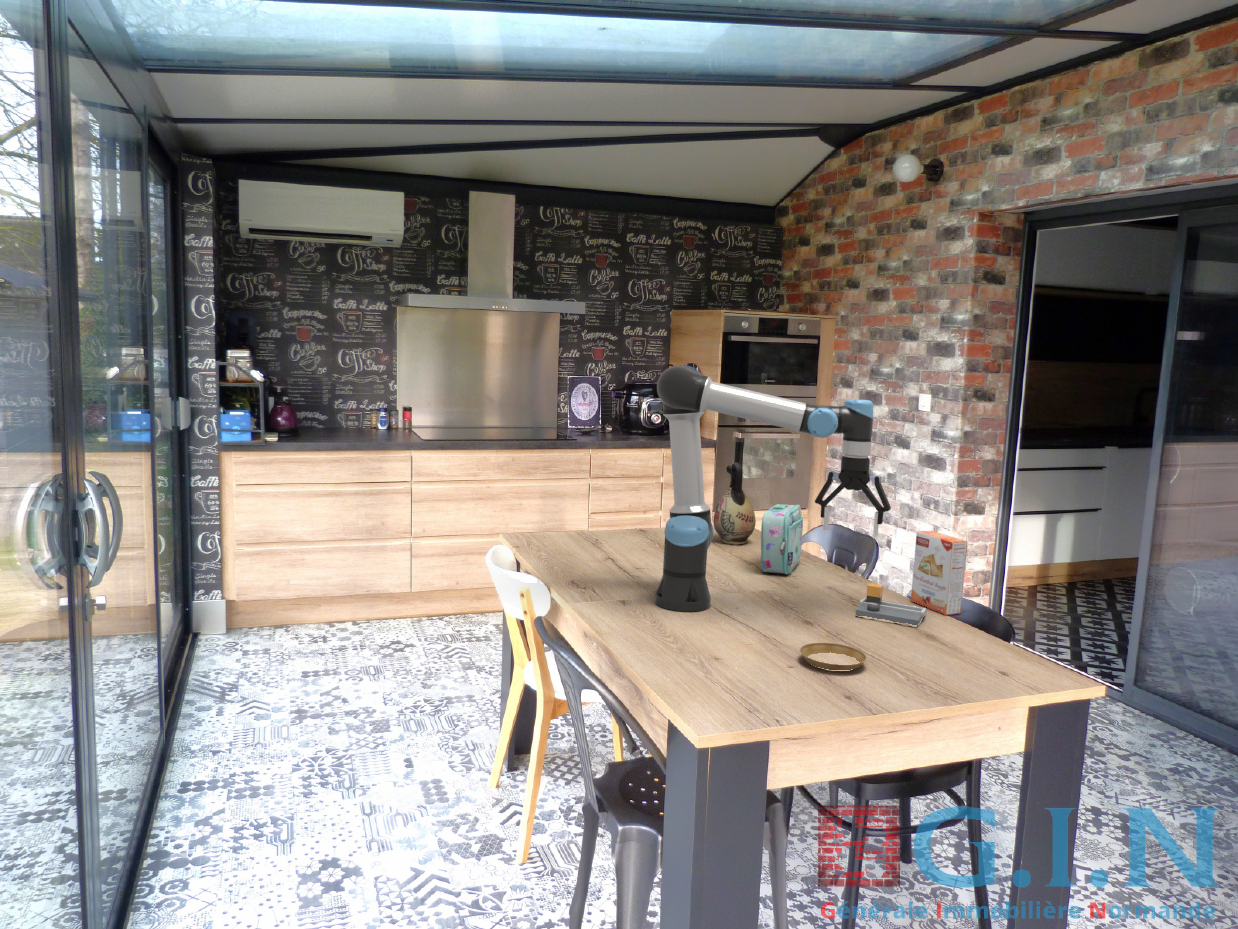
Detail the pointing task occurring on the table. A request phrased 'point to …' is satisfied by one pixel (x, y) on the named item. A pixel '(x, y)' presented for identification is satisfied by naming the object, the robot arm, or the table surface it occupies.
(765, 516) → the lunch box
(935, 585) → the cracker box
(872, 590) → the fader tab
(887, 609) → the console
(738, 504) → the ceramic jug
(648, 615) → the table surface
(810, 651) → the plant saucer
